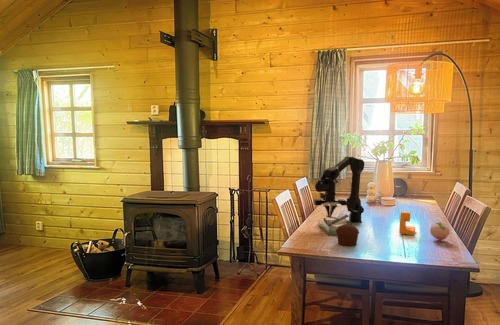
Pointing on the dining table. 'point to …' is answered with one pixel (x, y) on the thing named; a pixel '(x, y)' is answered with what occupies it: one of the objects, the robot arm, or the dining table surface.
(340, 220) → the strap
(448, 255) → the dining table surface
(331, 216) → the strap
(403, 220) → the bracket
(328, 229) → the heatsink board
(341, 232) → the muffin
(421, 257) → the dining table surface
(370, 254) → the dining table surface
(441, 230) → the decorative fruit
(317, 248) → the dining table surface
